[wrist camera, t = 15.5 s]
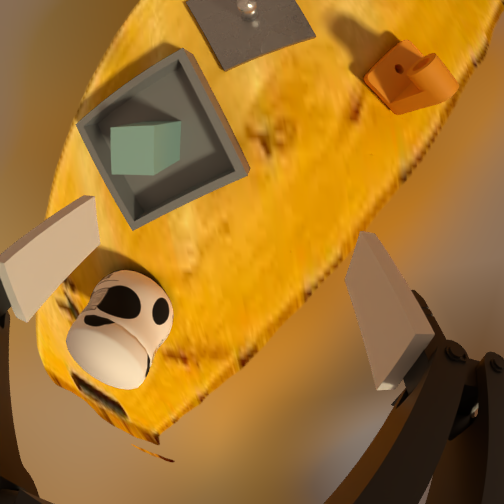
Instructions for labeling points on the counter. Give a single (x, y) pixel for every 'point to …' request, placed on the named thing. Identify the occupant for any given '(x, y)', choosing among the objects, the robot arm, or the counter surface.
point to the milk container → (121, 329)
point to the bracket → (410, 79)
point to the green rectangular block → (145, 147)
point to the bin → (191, 140)
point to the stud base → (250, 27)
